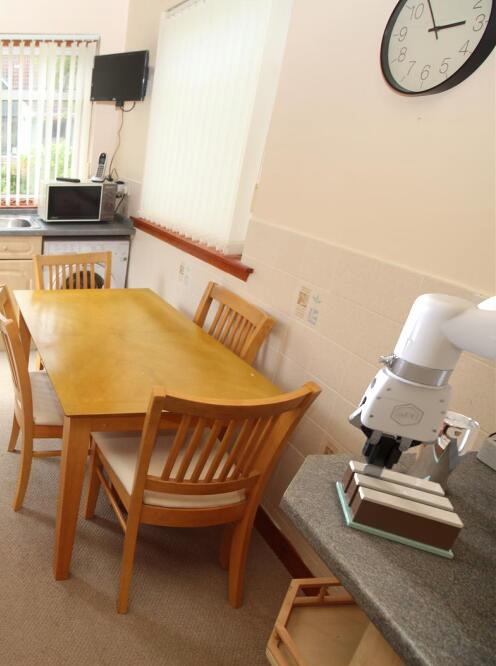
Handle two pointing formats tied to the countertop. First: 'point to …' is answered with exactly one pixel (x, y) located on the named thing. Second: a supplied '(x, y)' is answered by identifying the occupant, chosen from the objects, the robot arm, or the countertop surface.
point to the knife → (380, 456)
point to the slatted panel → (399, 509)
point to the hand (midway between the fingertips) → (377, 461)
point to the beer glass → (445, 450)
